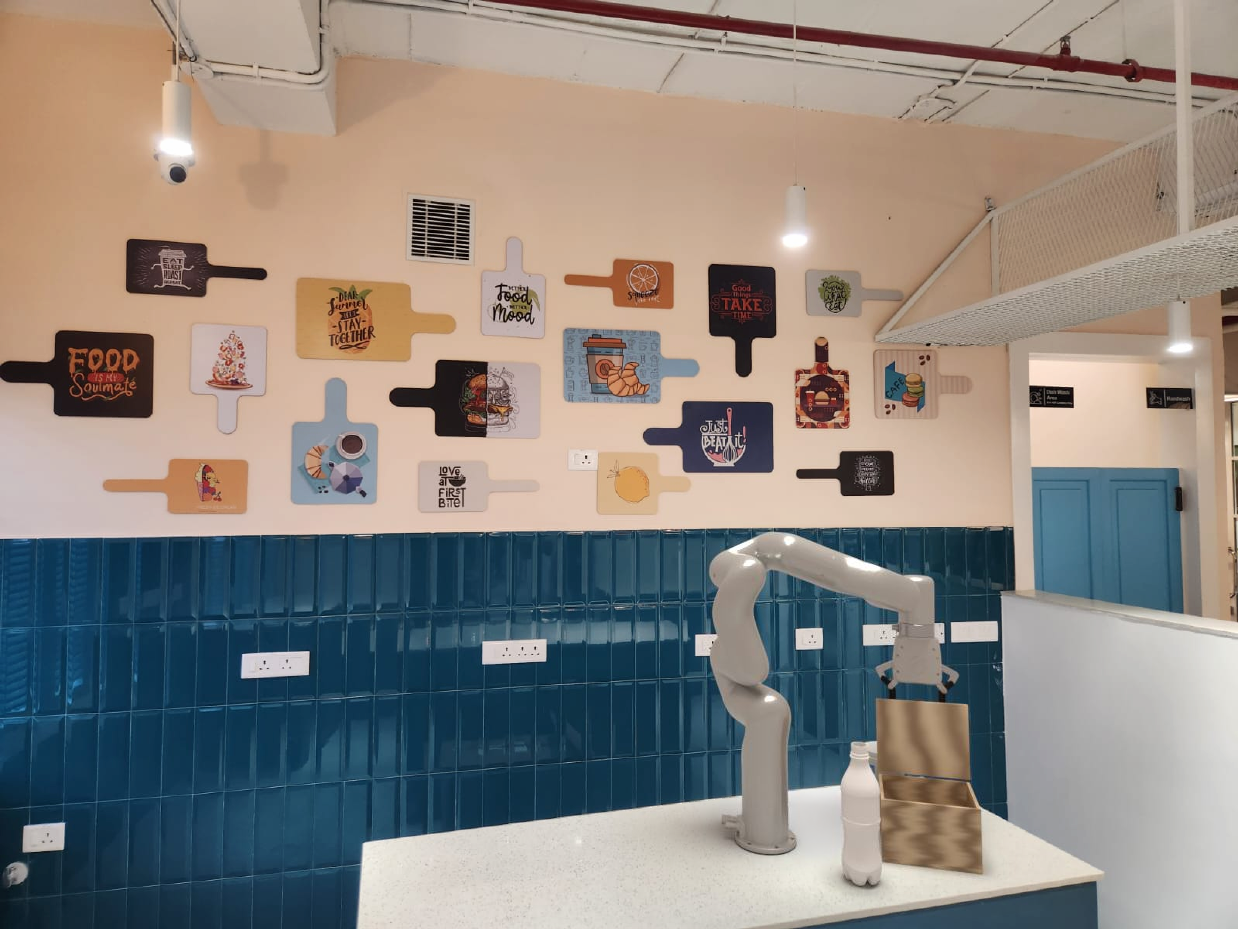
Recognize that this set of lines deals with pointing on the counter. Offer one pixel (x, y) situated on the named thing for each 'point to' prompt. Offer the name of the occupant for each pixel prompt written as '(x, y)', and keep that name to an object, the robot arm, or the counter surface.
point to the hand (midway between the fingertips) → (916, 708)
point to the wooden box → (930, 823)
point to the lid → (923, 738)
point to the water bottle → (860, 819)
